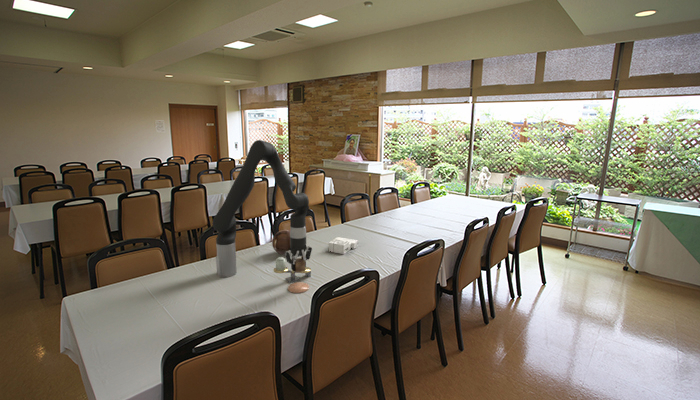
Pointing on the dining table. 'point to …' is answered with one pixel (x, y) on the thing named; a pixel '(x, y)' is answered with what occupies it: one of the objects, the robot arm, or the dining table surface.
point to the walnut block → (299, 265)
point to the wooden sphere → (281, 241)
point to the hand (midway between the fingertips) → (298, 269)
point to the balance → (293, 277)
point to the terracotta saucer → (298, 287)
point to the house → (342, 245)
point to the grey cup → (280, 264)
